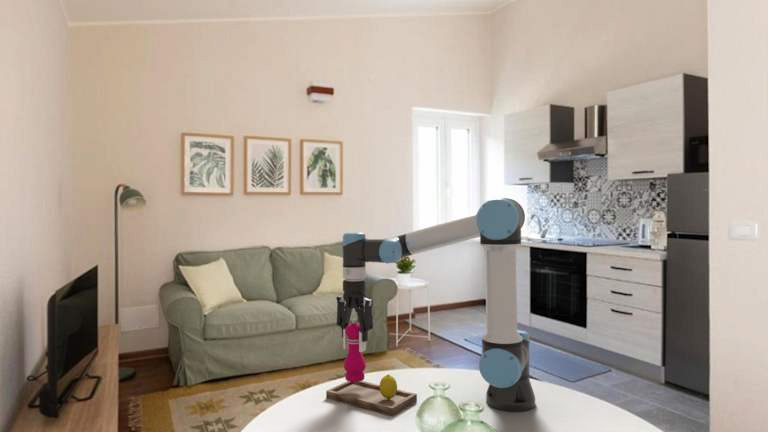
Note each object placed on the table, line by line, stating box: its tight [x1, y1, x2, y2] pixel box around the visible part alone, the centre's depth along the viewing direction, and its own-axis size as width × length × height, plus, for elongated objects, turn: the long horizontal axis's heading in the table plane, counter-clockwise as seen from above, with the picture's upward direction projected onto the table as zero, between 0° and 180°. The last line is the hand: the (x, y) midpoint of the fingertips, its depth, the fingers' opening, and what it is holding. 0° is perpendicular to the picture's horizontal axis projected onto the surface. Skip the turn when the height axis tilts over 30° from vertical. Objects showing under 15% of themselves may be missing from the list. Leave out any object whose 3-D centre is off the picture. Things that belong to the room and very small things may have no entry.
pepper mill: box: [343, 318, 367, 382], centre depth 168 cm, size 7×7×20 cm
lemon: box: [379, 374, 398, 400], centre depth 161 cm, size 6×6×8 cm
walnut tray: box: [325, 380, 418, 417], centre depth 165 cm, size 26×14×2 cm, turn 55°
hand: (354, 349), depth 168 cm, fingers closed on pepper mill, 6 cm apart
